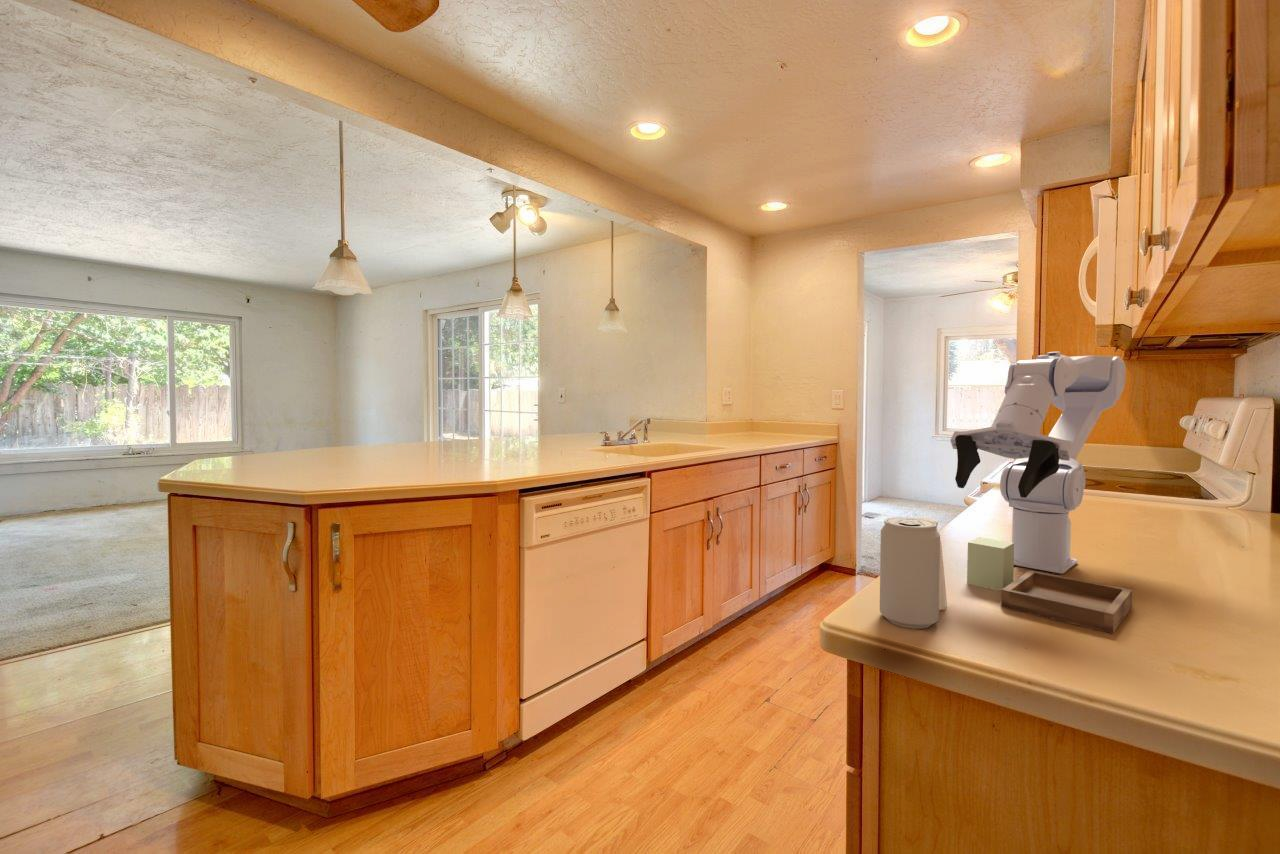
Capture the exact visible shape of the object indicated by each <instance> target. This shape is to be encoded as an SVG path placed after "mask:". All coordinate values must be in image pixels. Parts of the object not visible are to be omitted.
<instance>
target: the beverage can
mask: <svg viewBox="0 0 1280 854" xmlns="http://www.w3.org/2000/svg"><path fill="white" fill-rule="evenodd" d="M917 518H918V517H917ZM917 518H914V517H901V516H900V517H897V516H896V517H887V518H885V519H884V521H883V523H884V525H883V526H882V528H881V529H880V555H879V556H880V558H879V560H880V561H879V562H880V563H879V612H880V614H881V615H882V616H883V617H884V618H886V620H887V621H888V622H890V623H892V625H896V626H898V627H903V628H907V629H920V630H921V629H926V628H929V627H930V626H932V625H934V624H936V623H937V622H938V621H939V616H940V615H939V613H940V610H939V571H940V540H941V534H940V533H939V530H938V529H937V530H936V527H937V528H938V525H937V524H936V523H934V522H932V521H928V520H923V519H917Z"/></svg>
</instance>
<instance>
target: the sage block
mask: <svg viewBox="0 0 1280 854" xmlns="http://www.w3.org/2000/svg"><path fill="white" fill-rule="evenodd" d="M966 565H967V567H966V569H967V573H966V574H967V575H966V584H967V585H973V586H977V587H981V588H984V589H985V588H986V589H991V590H995V591H999V592H1002V589H1003V588H1005V587H1006V586H1008V585H1009V584H1011V583H1012V582H1013V581H1014V568H1015V565H1014V543H1012V541H1005V540H998V539H993V538H987V537H977V538H976V537H975V538H974V539H972V540H970V541H968V542H967V562H966Z"/></svg>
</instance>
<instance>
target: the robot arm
mask: <svg viewBox="0 0 1280 854" xmlns="http://www.w3.org/2000/svg"><path fill="white" fill-rule="evenodd" d="M1061 353H1062V352H1061V351H1049V352H1046V354H1040V355H1037V356H1036V359H1025V360H1024V359H1023V360H1018V361H1017V362H1016V363H1013V364H1012V363H1010V365H1009V368H1008V373H1007V381H1006V384H1005V386H1004V393H1005V395H1004V398H1003V400H1002V402H1001V404H1000V407H999V409H998V411H997V413H996V414H995V415H996V416H995V418H994V419H993V422H992V424H991V426H989V427H984V428H978V429H977V428H976V429H970V430H964V431H959V430H958V431H955V430H954V431H953V433H952V436H951V438H950V439H949V440H950V444H951V447H952V449H953V450H956V455H957V465H956V466H957V467H956V473H955V478H954V479H955V483H956V487H957V488H959V489H964V488H965V487H966V486H967V483H968V481H969V478H970V476H971V474H972V473H973V472H974V470H975V468H976V467H977V466H978V465H979V464H980V463H981V458H980V455H979V452H978V450H979V451H980V450H981V451H984V452H987V453H990V454H994V455H996V456H999V457H1003V458H1006V459H1013V460H1014V462H1012V463H1010V464H1007V466H1006V467H1005V468H1004V469H1003V470H1002V472H1001V476H1000V480H999V481H1000V483H999V489H1000V494H1001V496H1002V498H1003V499H1004V500H1005V502H1007V503H1008V507H1010V508H1012V528H1011V529H1012V530H1011V533H1012V534H1011V542H1012V543H1014V566H1018V567H1023V568H1028V569H1035V570H1039V571H1044V572H1049V573H1050V572H1051V573H1055V574H1061V575H1062V574H1065V573H1066V572H1067V571H1068V570H1070V569H1071V568H1072V567H1073V566H1074V565H1076V564H1077V563H1078V559H1077V558H1074V557H1071V540H1072V539H1071V538H1072V535H1071V534H1072V525H1071V524H1072V523H1071V519H1070V515H1069V514H1070V512H1072V511H1074V510H1076V509H1077V508H1079V506H1080V505H1081V503H1082V501H1083V497H1084V491H1085V488H1086V484H1087V483H1086V474H1085V470H1084V467H1083V464H1082V463H1081V462H1079V461H1078V460H1076V459H1077V458H1078V456H1079V454H1080V452H1081V451H1082V449H1083V447H1084V445H1085V443H1086V441H1087V440H1088V438H1089V436H1090V434H1091V433H1092V431H1093V429H1094V427H1095V425H1096V423H1097V421H1098V419H1100V416H1101V414H1102V412H1104V411H1106V410H1108V409H1110V408H1112V407H1115V406H1116V404H1117V402H1118V401H1119V399H1120V397H1121V395H1122V393H1123V392H1124V389H1125V383H1126V376H1127V375H1126V373H1127V369H1126V364H1125V361H1124V359H1123V358H1121V356H1119V355H1118V356H1117V355H1116V356H1111V355H1077V356H1075V355H1074V356H1067V355H1065V354H1061ZM1051 405H1052V406H1053V407H1055V408H1057V409H1059V410H1060V411H1062V413H1061V414H1060V416H1059V417H1058V419H1057V421H1056V422H1055V424H1054V426H1053V427H1052V429H1051V431H1050V432H1049V433H1048V435H1045V434H1042V433H1040V430H1041V429H1042V426H1043V423H1044V421H1045V419H1046V417H1047V414H1048V411H1049V409H1050V406H1051Z"/></svg>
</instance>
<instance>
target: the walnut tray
mask: <svg viewBox="0 0 1280 854" xmlns="http://www.w3.org/2000/svg"><path fill="white" fill-rule="evenodd" d="M1000 596H1001V599H1000V601H1001V603H1000V604H1001V605H1000V607H1001V608H1005V609H1008V610H1009V609H1010V610H1013V611H1017V612H1021V613H1025V614H1029V613H1030V614H1029V615H1034V614H1035V615H1034V616H1038V615H1039V616H1038V617H1042V616H1043V618H1046V617H1047V619H1051V620H1055V621H1059V622H1064V623H1068V624H1071V625H1076V626H1081V627H1083V628H1089V629H1093V630H1097V631H1102V632H1105V633H1110V634H1114V633H1115V631H1116V630H1117V628H1119V625H1120V624H1121V623H1122V622H1123V620H1124V619H1125V617H1126V616H1127V614H1128V613H1129V611H1130V610H1131V608H1132V607H1133V589H1131V588H1125V587H1120V586H1114V585H1110V584H1104V583H1098V582H1093V581H1087V580H1082V579H1081V580H1080V579H1078V578H1074V577H1073V578H1072V577H1067V576H1062V575H1055V574H1051V573H1045V572H1041V571H1034V570H1027V571H1026V572H1025V573H1023V574H1022V575H1020V576H1019V577H1017V578H1016V579H1015V580H1013V582H1012V583H1011V584H1009V585H1008V586H1006V587H1005V588H1003V589H1002V591H1001V595H1000Z"/></svg>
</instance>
